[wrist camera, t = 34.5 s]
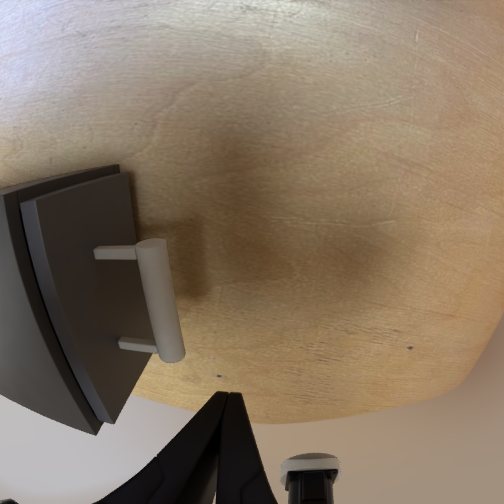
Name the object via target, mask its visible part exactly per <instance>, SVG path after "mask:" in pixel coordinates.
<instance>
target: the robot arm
mask: <svg viewBox="0 0 504 504" xmlns="http://www.w3.org/2000/svg"><path fill="white" fill-rule="evenodd" d="M337 475H338V469H323V470H299V471H288V472H287V477H286V485H285V490H286V491H289V498H288V504H334V500H333V483H334V481H335V479H336V477H337ZM215 492H216V504H278V503H277V501H276V499H275V497H274V495H273V493H272V490H271V487H270V485H269V482H268V479H267V476H266V473H265V471H264V467H263V464H262V461H261V458H260V454H259V451H258V448H257V445H256V441H255V438H254V435H253V431H252V428H251V424H250V421H249V417H248V414H247V410H246V407H245V403H244V400H243V396H242V394H241V393H239V392H230V393H228V392H223V391H217V392H215V394H214V395H213V396H212V397H211V398H210V399H209V400H208V401H207V402H206V404H205V405H204V406H203V407H202V408H201V409H200V410H199V411H198V412H197V413H196V414H195V416H194V417H193V418H192V419H191V420H190V421H189V422H188V423H187V424H186V425H185V426H184V428H182V430H181V431H180V432H179V433H178V434H177V435H176V436H175V437H174V438H173V439H172V440H171V441H170V442H169V443H168V444H167V445H166V446H165V447H164V448H163V449H162V450H161V451H160V452H159V453H158V454H157V457H154V458H153V459H152V460H151V461H150V462H149V463H148V464H147V465H146V466H145V467H144V468H143V469H142V470H141V471H140V472H138V473H137V474H136V475H135V476H133V477H132V478H131V479H129V480H128V481H127V482H125V483H124V484H123V485H121V486H120V487H119V488H117V489H116V490H114V491H113V492H111V493H110V494H108V495H107V496H105V497H104V498H103V499H101V500H99V501H97V502H95V503H93V504H212V503H213V499H214V496H215ZM0 504H18V503H17V502H15V501H14V500H12V499H5V500H1V501H0Z"/></svg>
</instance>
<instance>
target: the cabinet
mask: <svg viewBox="0 0 504 504" xmlns="http://www.w3.org/2000/svg"><path fill="white" fill-rule="evenodd" d="M117 173H120V170H119V164H116V165H109V166H103V167H97V168H91V169H86V170H80V171H75V172H70V173H65V174H60V175H55V176H51V177H46V178H42V179H37V180H33V181H29V182H25V183H21V184H17V185H13V186H9V187H6V188H2V189H0V394H1V395H3V396H5V397H6V398H8V399H10V400H12V401H14V402H16V403H18V404H20V405H22V406H24V407H26V408H28V409H30V410H32V411H34V412H36V413H39V414H41V415H43V416H46V417H48V418H50V419H52V420H55V421H57V422H60V423H62V424H65V425H67V426H70V427H72V428H75V429H78V430H81V431H84V432H86V433H89V434H92V435H95V436H96V435H97V434H98V432H99V430H100V428H101V426H102V425H103V423H104V422H103V421H100V420H99V419H98V418H97V416H96V414H95V413H94V411H93V409H92V407H91V406H90V404H89V402H88V400H87V398H86V396H83V394H82V392H81V390H80V388H79V386H78V384H77V382H76V380H75V378H74V376H73V374H72V372H71V370H70V368H69V366H68V364H67V362H66V359H65V357H64V355H63V353H62V351H61V348H60V346H59V344H58V341H57V339H56V336H55V334H54V331H53V329H52V326H51V324H50V321H49V318H48V316H47V313H46V310H45V307H44V304H43V302H42V299H41V296H40V293H39V289H38V286H37V283H36V280H35V276H34V273H33V269H32V266H31V262H30V258H29V254H28V250H27V246H26V242H25V237H24V233H23V228H22V223H21V218H20V212H19V210H20V209H21V207H20V203H21V202H24V201H26V200H29V199H32V198H35V197H38V196H41V195H44V194H47V193H50V192H53V191H56V190H59V189H62V188H65V187H69V186H72V185H75V184H79V183H82V182H86V181H89V180H93V179H96V178H100V177H104V176H108V175H111V174H117Z"/></svg>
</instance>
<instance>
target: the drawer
mask: <svg viewBox="0 0 504 504" xmlns="http://www.w3.org/2000/svg"><path fill="white" fill-rule="evenodd" d="M20 207H21V209H20V210H19V212H20V218H21V223H22V228H23V233H24V237H25V242H26V246H27V250H29V251H30V255H31V259H32V262H33V266H34V270H35V273H36V277H37V280H38V283H39V287H40V290H41V293H42V296H43V299H44V302H45V305H46V308H47V311H48V313H49V316H50V319H51V322H52V324H53V327H54V329H55V332H56V334H57V335H55V336H56V339H57V341H58V344H59V346H60V348H61V351H62V353H63V355H64V357H65V359H66V362H67V364H68V366H69V368H70V370H71V372H72V374H73V376H74V378H75V380H76V382H77V384H78V386H79V388H80V390H81V392H82V394H83V396H86V398H87V400H88V402H89V404H90V406H91V407H92V409H93V411H94V413H95V414H96V416H97V418H98V419H99V420H100V421H103V422H107V423H110V424H115V422H116V420H117V418H118V416H119V414H120V412H121V410H122V409H123V407H124V405H125V403H126V401H127V399H128V397H129V396H130V394H131V392H132V390H133V388H134V386H135V385H136V383H137V381H138V379H139V377H140V375H141V374H142V372H143V370H144V368H145V366H146V365H147V363H148V361H149V359H150V357H151V356H152V354H153V353H159V356H160V359H161V360H162V361H164V362H166V363H175V362H178V361H180V360H182V359H183V358H184V357H185V354H186V352H185V347H184V342H183V338H182V333H181V327H180V322H179V317H178V312H177V306H176V300H175V295H174V289H173V283H172V276H171V270H170V263H169V256H168V249H167V242H166V240H165V239H162V238H152V239H146V240H143V241H140V242H138V243H137V239H136V232H135V226H134V218H133V211H132V203H131V195H130V186H129V177H128V172H124V173H117V174H111V175H108V176H104V177H100V178H96V179H93V180H89V181H86V182H82V183H79V184H75V185H72V186H69V187H65V188H62V189H59V190H56V191H53V192H50V193H47V194H44V195H41V196H38V197H35V198H32V199H29V200H26V201H24V202H21V203H20Z"/></svg>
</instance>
